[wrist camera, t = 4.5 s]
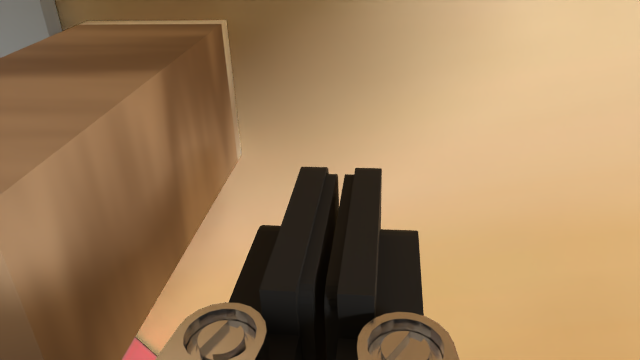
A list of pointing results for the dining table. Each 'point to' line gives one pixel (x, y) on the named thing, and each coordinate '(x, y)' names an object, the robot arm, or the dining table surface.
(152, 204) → the walnut block
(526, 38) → the dining table surface
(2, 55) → the mat
